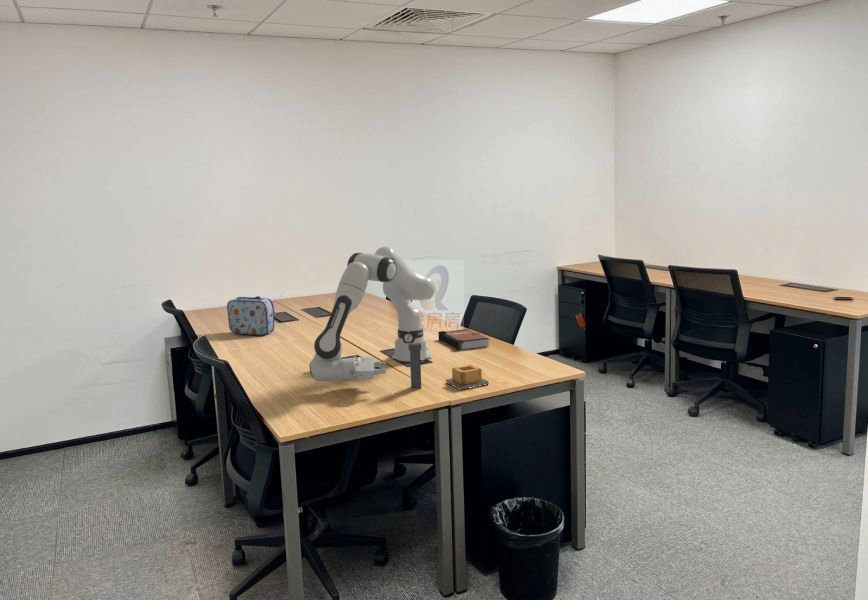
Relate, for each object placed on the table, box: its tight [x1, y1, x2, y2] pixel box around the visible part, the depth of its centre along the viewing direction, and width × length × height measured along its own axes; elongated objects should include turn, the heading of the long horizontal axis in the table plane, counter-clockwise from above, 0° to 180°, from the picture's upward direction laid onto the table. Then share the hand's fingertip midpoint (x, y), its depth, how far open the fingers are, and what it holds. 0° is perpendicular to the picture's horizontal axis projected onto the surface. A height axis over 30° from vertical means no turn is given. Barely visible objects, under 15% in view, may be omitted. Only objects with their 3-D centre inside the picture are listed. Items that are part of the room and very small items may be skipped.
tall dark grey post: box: [408, 343, 422, 389], centre depth 277 cm, size 5×3×18 cm, turn 94°
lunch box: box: [226, 295, 277, 336], centre depth 387 cm, size 28×10×22 cm, turn 73°
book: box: [438, 328, 490, 352], centre depth 351 cm, size 26×18×5 cm
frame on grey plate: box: [445, 364, 489, 389], centre depth 281 cm, size 13×12×6 cm
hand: (385, 367), depth 276 cm, fingers open, 8 cm apart
